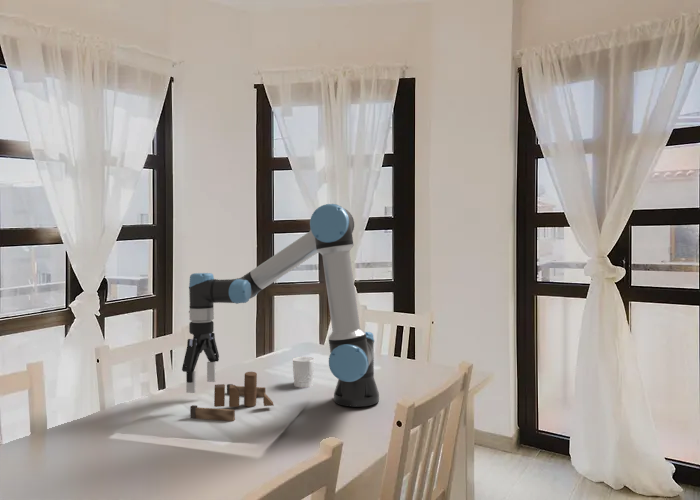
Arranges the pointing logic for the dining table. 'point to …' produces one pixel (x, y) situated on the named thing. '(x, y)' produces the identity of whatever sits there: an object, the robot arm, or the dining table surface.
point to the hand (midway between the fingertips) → (201, 386)
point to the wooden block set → (234, 393)
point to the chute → (220, 413)
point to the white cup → (303, 371)
